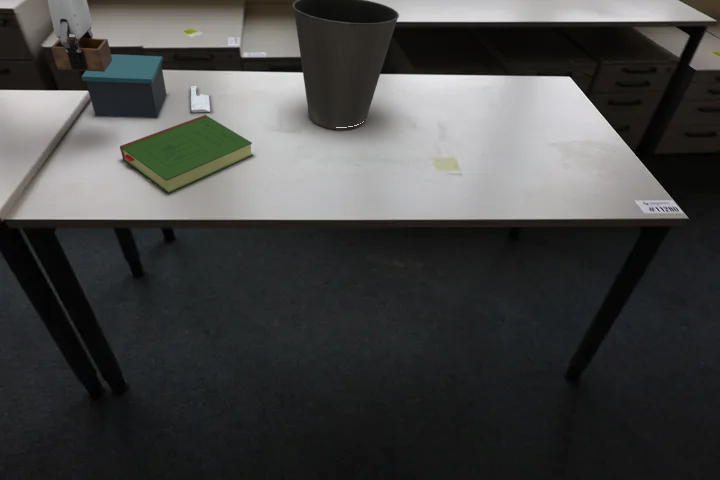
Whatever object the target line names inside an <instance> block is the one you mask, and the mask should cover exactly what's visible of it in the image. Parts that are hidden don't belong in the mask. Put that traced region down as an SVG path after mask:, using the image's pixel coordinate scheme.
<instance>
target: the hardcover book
mask: <svg viewBox="0 0 720 480" xmlns="http://www.w3.org/2000/svg"><path fill="white" fill-rule="evenodd" d="M252 144H253V143H252V141H250V140H248V139H247V138H245V137H243V136H241V135H240V134H239V133H237V132H235V131H233V130H231V129H230V128H228V127H226V126H225V125H223V124H222V123H220V122H218V121H217V120H215V119H214V118H212V117H210V116H208V115H207V114H203V115H201V116H198V117H195V118H193V119H190V120H188V121H185V122H184V121H183V122H182V123H179V124H176V125H174V126H172V127H169V128H166V129H163V130H160V131H156V132H154V133H152V134H150V135H146V136H144V137H141V138H139V139H135V140H132V141H129V142H127V143H125V144H122V145H119V149H120V152H121V157H122V160H123V161H124V162H125V163H127V164H128V165H129V166H131V167H132V168H133V169H135V170H136V171H137V172H139V173H140V174H142V176H144V177H146V178H147V179H148V180H150V181H151V182H152V183H153V184H155V185H156V186H157V187H159V188H160V189H162V190H163V191H164V192H166V193H167V194H172V193H174V192H175V191H178V190H180V189H182V188H184V187H187V186H189V185H191V184H193V183H196V182H198V181H200V180H202V179H204V178H207V177H209V176H212V175H213V174H216V173H218V172H220V171H223V170H225V169H226V168H229V167H231V166H233V165H236V164H237V163H238V164H239V163H240V162H242V161H244V160H247V159H249V158H251V157H253V156H254V155H253V154H252Z"/></svg>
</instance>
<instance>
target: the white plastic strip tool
mask: <svg viewBox="0 0 720 480" xmlns="http://www.w3.org/2000/svg"><path fill="white" fill-rule="evenodd" d="M197 90H198V86H196V85H192V86H190V108H191V113H210V112H211V104H210V95H209V94H208V95H207V94H203V93H200V94H199V95H197Z"/></svg>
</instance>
